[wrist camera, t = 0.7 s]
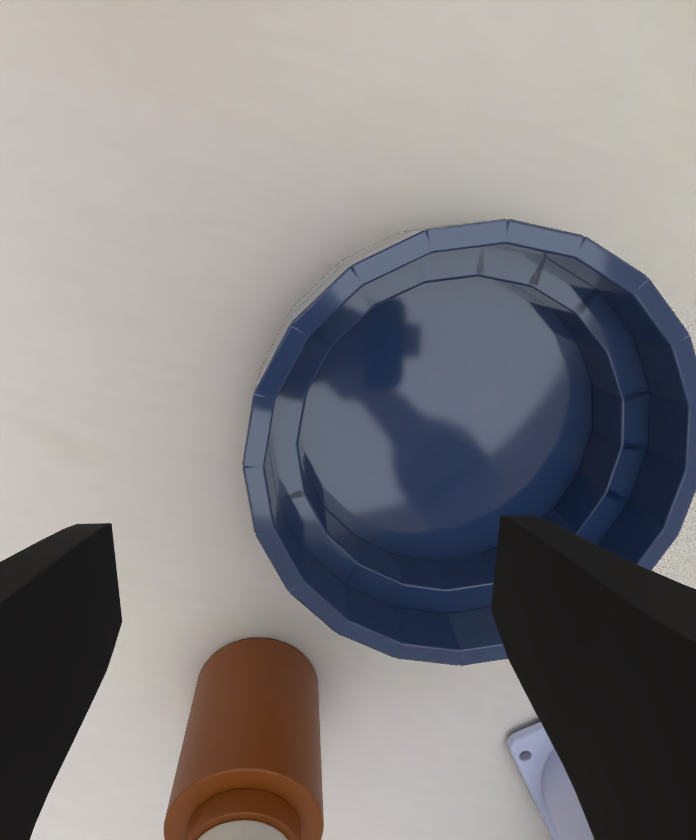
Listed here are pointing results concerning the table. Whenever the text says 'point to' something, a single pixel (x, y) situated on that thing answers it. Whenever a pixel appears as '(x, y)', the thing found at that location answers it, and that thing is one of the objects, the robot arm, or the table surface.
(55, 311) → the table surface
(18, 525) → the table surface
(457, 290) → the bowl
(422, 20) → the table surface
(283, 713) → the bottle
